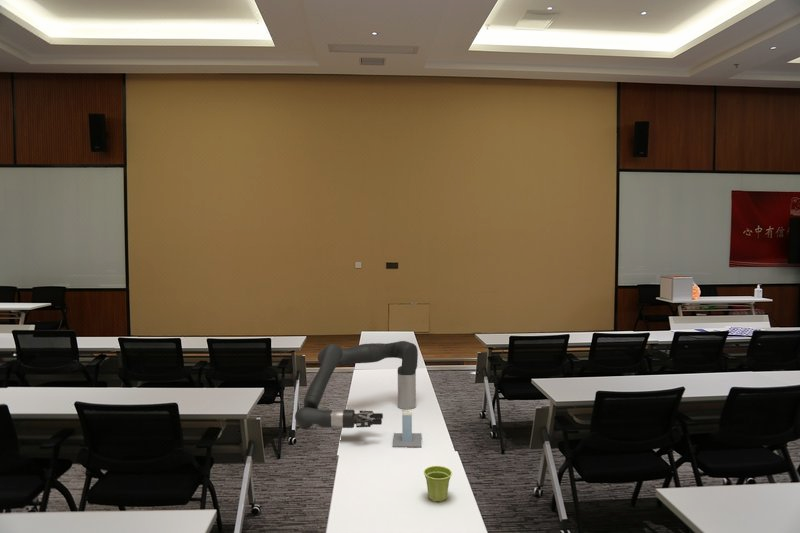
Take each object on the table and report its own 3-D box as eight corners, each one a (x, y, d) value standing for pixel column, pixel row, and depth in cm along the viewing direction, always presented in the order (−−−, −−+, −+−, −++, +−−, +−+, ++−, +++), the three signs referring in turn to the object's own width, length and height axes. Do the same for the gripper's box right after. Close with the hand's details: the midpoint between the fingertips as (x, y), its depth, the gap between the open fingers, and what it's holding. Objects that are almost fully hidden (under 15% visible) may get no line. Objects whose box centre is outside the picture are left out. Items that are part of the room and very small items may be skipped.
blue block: (402, 437, 220) (402, 410, 219) (411, 437, 219) (411, 410, 219) (402, 441, 216) (402, 413, 215) (412, 441, 215) (411, 413, 215)
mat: (393, 434, 225) (393, 433, 225) (421, 434, 224) (421, 433, 224) (392, 447, 211) (392, 446, 211) (421, 447, 210) (421, 446, 210)
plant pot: (450, 490, 175) (450, 465, 175) (453, 504, 166) (453, 478, 165) (422, 490, 175) (422, 466, 174) (425, 505, 165) (424, 479, 165)
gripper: (340, 415, 210) (381, 416, 210) (345, 404, 225) (383, 404, 224) (340, 433, 211) (381, 434, 210) (345, 421, 225) (383, 421, 225)
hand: (382, 418), depth 217 cm, fingers open, 6 cm apart
